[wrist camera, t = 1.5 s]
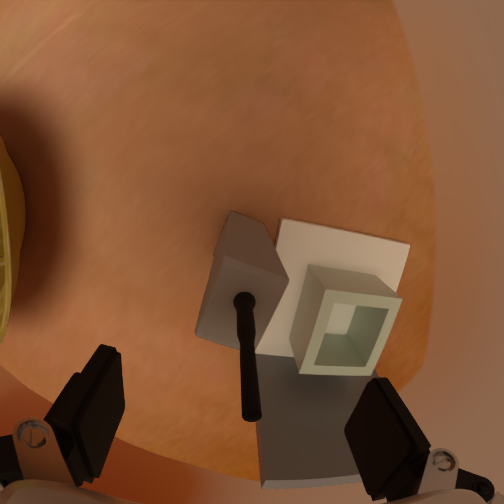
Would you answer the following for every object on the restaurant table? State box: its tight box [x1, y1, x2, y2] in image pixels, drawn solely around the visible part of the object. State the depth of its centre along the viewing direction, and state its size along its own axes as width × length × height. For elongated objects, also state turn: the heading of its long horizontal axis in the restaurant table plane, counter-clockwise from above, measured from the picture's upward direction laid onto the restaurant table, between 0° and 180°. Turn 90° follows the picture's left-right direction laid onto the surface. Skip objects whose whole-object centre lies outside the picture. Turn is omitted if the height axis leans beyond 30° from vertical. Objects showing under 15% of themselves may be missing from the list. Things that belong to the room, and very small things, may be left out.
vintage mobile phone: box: [195, 211, 289, 422], centre depth 20 cm, size 4×5×25 cm
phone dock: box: [255, 217, 410, 489], centre depth 25 cm, size 18×16×19 cm
